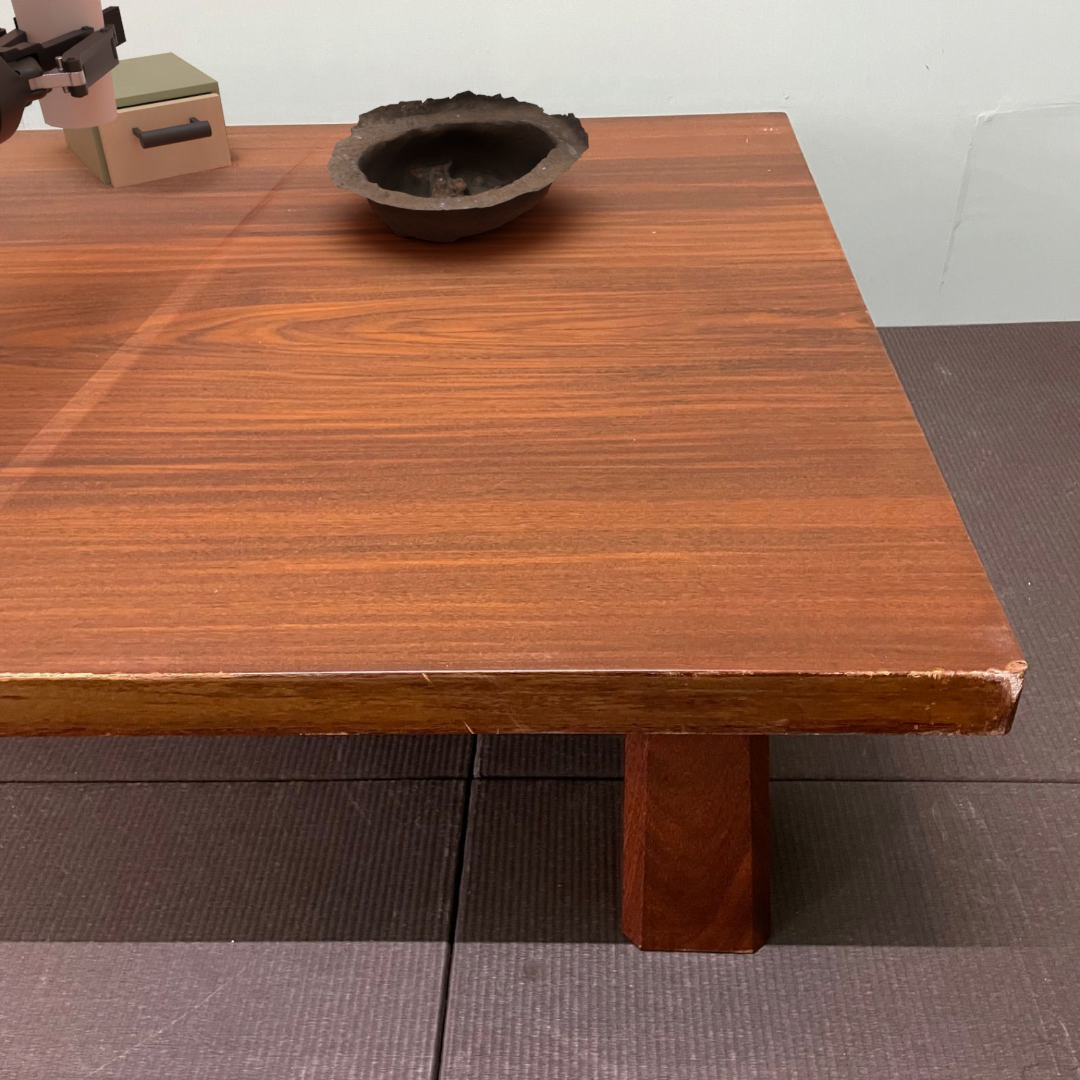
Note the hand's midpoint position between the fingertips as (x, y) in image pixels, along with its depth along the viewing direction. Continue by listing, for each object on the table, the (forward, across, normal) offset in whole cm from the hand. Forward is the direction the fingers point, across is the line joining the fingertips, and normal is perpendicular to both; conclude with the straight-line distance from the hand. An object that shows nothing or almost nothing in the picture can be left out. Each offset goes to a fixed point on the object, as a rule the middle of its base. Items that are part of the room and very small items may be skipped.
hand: (99, 23), depth 96 cm
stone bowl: (+13, +26, -21) cm, 36 cm away
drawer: (+23, -9, -20) cm, 31 cm away
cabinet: (+26, -12, -21) cm, 35 cm away
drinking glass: (-5, -1, -6) cm, 8 cm away
